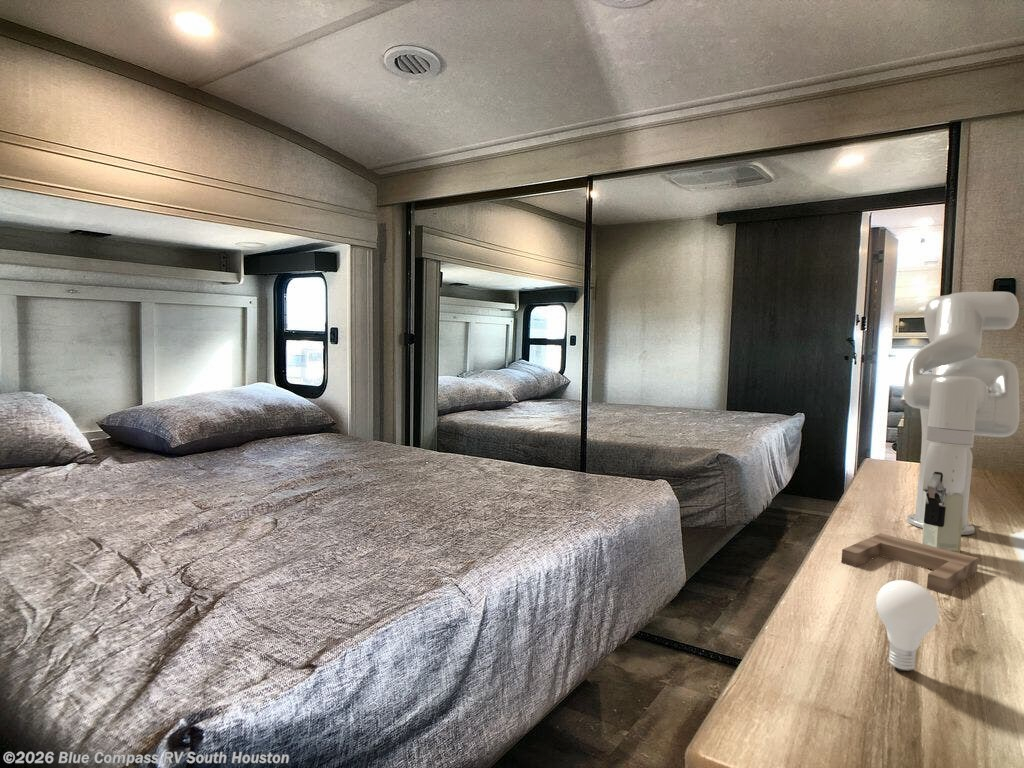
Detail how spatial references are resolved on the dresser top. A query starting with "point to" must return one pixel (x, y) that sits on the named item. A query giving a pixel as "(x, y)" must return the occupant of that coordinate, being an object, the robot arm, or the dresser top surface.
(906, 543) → the notched board
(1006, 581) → the dresser top surface
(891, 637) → the lightbulb
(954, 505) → the skincare box
